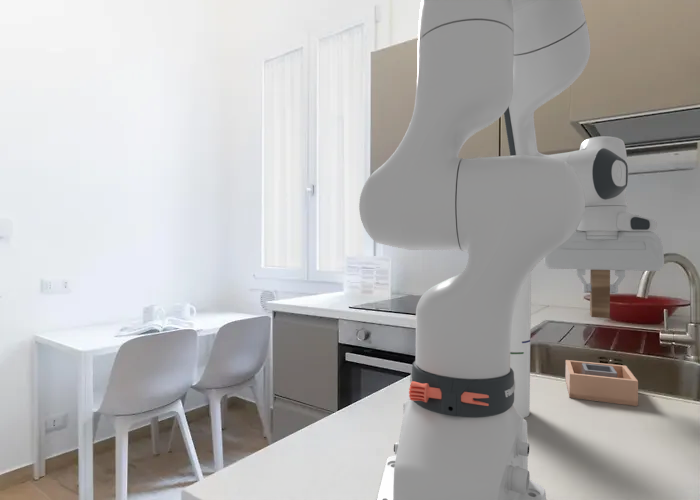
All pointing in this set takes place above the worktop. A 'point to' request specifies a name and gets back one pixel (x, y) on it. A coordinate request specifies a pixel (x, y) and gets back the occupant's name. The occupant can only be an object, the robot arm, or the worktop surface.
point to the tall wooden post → (600, 293)
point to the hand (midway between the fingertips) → (599, 293)
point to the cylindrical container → (521, 349)
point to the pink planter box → (601, 382)
